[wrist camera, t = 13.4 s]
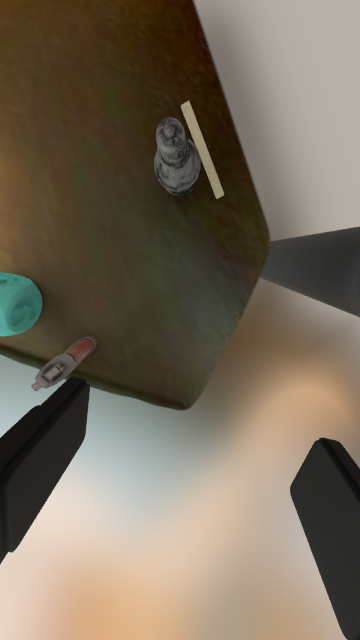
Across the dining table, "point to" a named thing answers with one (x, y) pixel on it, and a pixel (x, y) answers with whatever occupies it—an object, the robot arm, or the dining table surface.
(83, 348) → the lighter
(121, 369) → the dining table surface
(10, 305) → the decorative dice
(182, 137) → the dark grey chess piece
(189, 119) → the beige long thin bar
